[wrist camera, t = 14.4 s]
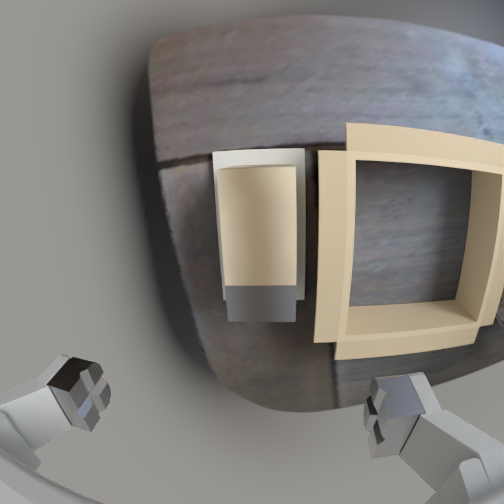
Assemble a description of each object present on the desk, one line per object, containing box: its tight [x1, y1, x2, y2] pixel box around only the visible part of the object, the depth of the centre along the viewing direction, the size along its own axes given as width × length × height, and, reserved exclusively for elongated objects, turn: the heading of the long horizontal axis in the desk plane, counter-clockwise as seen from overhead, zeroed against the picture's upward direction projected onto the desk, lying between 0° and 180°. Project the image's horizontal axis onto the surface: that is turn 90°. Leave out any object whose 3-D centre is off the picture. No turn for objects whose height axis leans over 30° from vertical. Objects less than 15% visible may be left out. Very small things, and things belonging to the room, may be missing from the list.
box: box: [217, 164, 297, 322], centre depth 23 cm, size 5×11×6 cm, turn 3°
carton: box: [314, 123, 504, 360], centre depth 23 cm, size 19×19×5 cm
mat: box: [213, 148, 306, 300], centre depth 26 cm, size 8×14×1 cm, turn 3°
